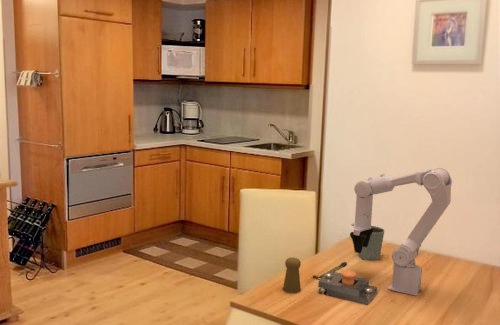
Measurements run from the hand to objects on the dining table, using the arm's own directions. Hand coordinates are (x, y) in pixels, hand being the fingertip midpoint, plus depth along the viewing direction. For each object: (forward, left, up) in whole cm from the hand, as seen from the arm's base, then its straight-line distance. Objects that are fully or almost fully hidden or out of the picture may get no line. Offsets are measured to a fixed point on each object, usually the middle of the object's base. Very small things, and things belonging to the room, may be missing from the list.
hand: (361, 249), depth 183 cm
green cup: (+3, -23, -11) cm, 26 cm away
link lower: (-2, +16, -10) cm, 19 cm away
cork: (+16, +24, -11) cm, 31 cm away
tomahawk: (+9, +1, -11) cm, 14 cm away
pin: (-1, +16, -10) cm, 19 cm away
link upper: (+1, +16, -10) cm, 19 cm away
